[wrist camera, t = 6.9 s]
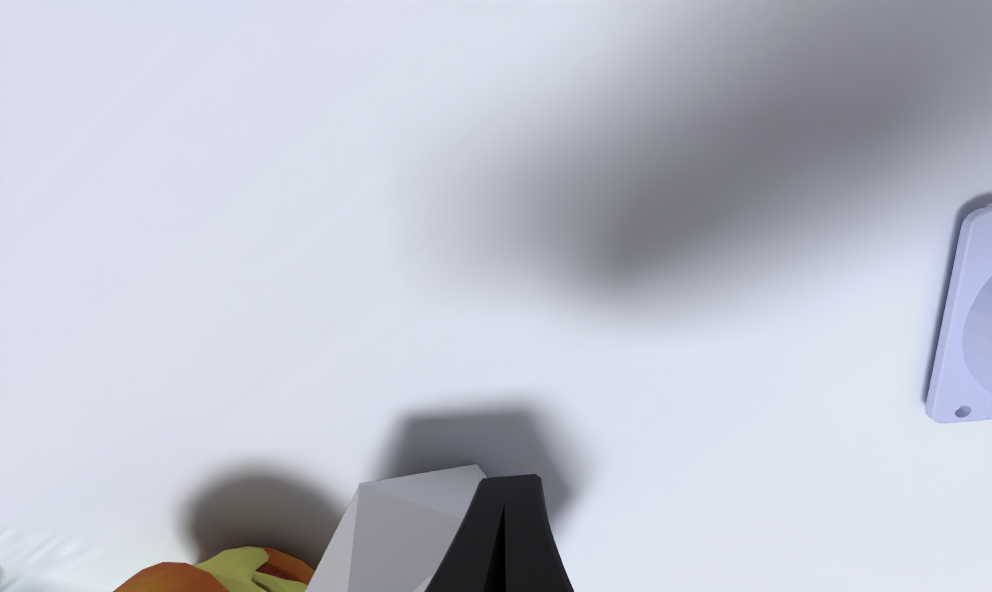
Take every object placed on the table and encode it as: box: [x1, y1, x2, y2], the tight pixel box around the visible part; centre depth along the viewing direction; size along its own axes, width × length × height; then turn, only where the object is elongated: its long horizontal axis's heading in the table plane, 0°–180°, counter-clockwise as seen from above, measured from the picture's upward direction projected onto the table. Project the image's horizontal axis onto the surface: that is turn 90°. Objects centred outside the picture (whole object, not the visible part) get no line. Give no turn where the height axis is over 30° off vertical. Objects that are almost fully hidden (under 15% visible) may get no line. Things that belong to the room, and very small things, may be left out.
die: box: [305, 464, 487, 592], centre depth 18 cm, size 8×9×10 cm
